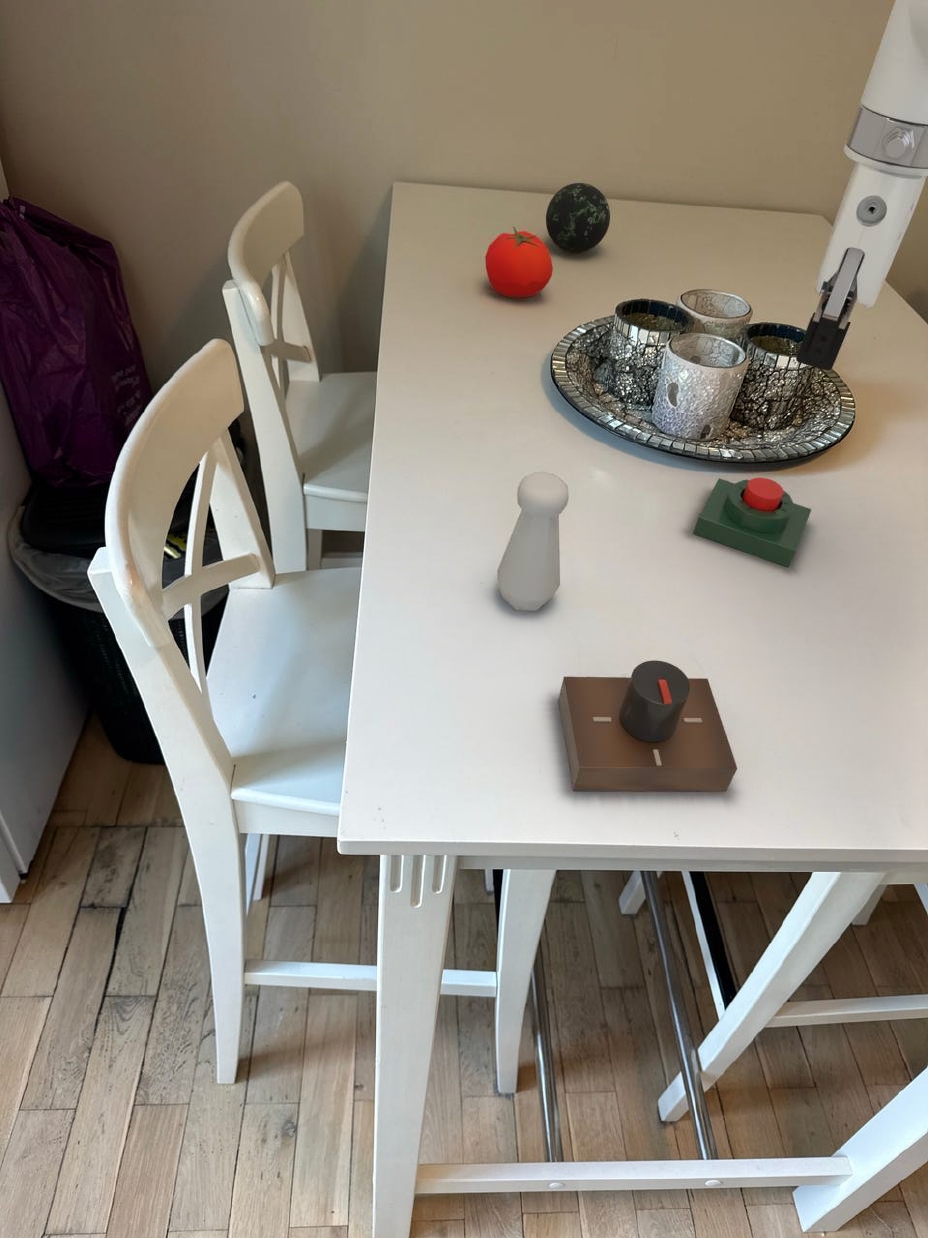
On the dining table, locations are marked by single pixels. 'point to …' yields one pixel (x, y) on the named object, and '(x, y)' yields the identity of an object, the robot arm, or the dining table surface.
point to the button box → (752, 523)
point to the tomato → (518, 264)
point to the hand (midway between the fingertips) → (814, 362)
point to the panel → (631, 764)
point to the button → (763, 494)
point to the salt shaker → (534, 543)
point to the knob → (654, 701)
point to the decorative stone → (577, 217)
